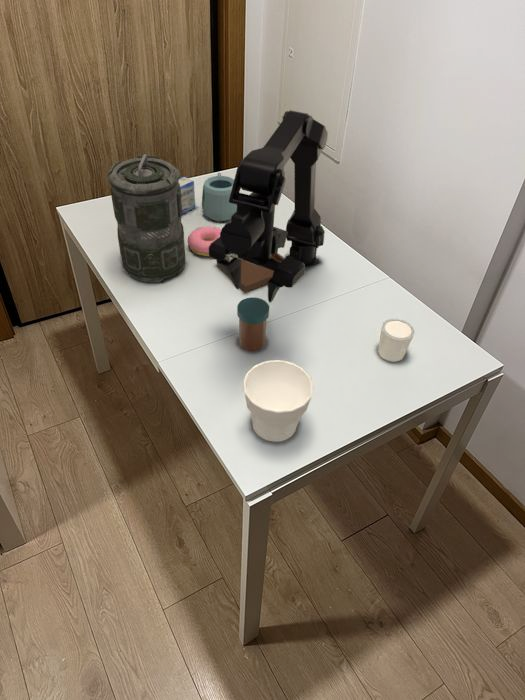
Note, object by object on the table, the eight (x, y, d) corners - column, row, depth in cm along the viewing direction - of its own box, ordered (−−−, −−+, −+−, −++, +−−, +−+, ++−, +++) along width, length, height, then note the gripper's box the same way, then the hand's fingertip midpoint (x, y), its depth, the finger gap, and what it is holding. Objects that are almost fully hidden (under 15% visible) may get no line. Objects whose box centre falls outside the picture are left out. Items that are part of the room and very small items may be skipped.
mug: (201, 198, 162) (200, 166, 155) (237, 197, 163) (237, 166, 156) (202, 224, 151) (201, 191, 144) (241, 223, 153) (241, 191, 146)
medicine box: (176, 218, 153) (174, 190, 147) (165, 212, 155) (163, 184, 149) (195, 208, 158) (194, 180, 152) (185, 202, 160) (183, 175, 154)
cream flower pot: (243, 397, 106) (244, 357, 98) (306, 400, 106) (312, 361, 98) (239, 449, 97) (240, 410, 89) (308, 452, 97) (315, 414, 89)
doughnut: (219, 233, 148) (219, 219, 145) (235, 254, 141) (235, 240, 138) (182, 241, 145) (181, 227, 142) (196, 262, 138) (196, 249, 135)
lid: (231, 318, 110) (231, 311, 109) (245, 300, 115) (245, 293, 113) (260, 328, 108) (261, 321, 107) (274, 309, 113) (274, 303, 112)
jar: (255, 330, 120) (257, 296, 113) (270, 345, 117) (272, 311, 110) (233, 339, 117) (234, 305, 111) (248, 355, 114) (249, 321, 107)
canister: (128, 247, 141) (112, 143, 122) (188, 249, 142) (182, 145, 123) (117, 283, 130) (98, 174, 111) (182, 285, 131) (174, 177, 111)
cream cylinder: (400, 368, 113) (407, 344, 108) (370, 355, 116) (376, 331, 111) (411, 349, 118) (419, 326, 113) (382, 337, 120) (389, 314, 115)
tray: (265, 249, 144) (265, 242, 142) (294, 273, 136) (295, 267, 135) (216, 266, 137) (216, 259, 136) (245, 293, 130) (245, 286, 128)
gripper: (322, 223, 100) (313, 290, 110) (238, 195, 106) (237, 261, 117) (294, 250, 92) (287, 319, 103) (206, 218, 99) (207, 286, 109)
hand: (254, 294), depth 108 cm, fingers open, 7 cm apart
